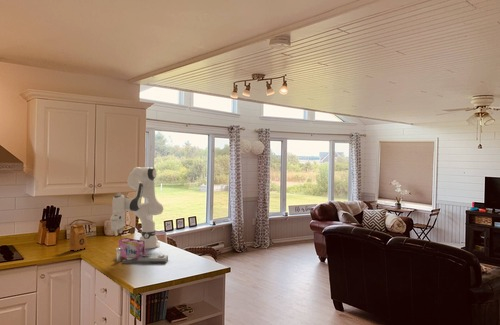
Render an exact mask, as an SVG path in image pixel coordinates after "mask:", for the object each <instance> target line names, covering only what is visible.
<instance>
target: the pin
mask: <svg viewBox="0 0 500 325" xmlns="http://www.w3.org/2000/svg"><path fill="white" fill-rule="evenodd" d="M115 250H116V262H117V263H119V262H121V263H122V257H121V248H119V247H116V248H115Z"/></svg>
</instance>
